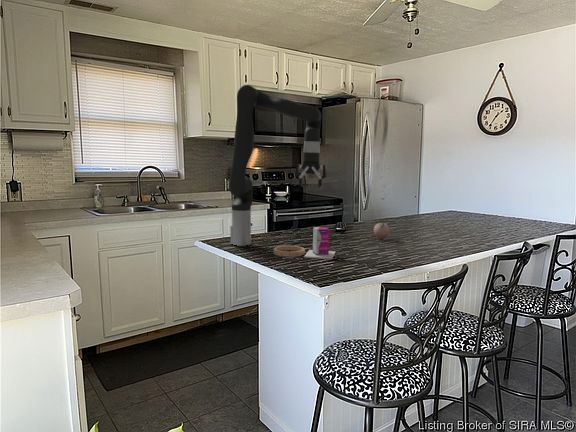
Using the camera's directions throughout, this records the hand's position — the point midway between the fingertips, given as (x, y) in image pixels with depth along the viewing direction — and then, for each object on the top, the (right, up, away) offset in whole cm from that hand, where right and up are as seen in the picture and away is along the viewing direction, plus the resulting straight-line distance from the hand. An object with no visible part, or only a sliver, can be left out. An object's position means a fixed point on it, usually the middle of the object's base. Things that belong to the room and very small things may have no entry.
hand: (310, 187), depth 191 cm
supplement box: (+4, -30, -10) cm, 32 cm away
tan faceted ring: (-10, -30, -7) cm, 32 cm away
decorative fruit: (+39, -26, +27) cm, 54 cm away
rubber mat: (+4, -31, -10) cm, 33 cm away
